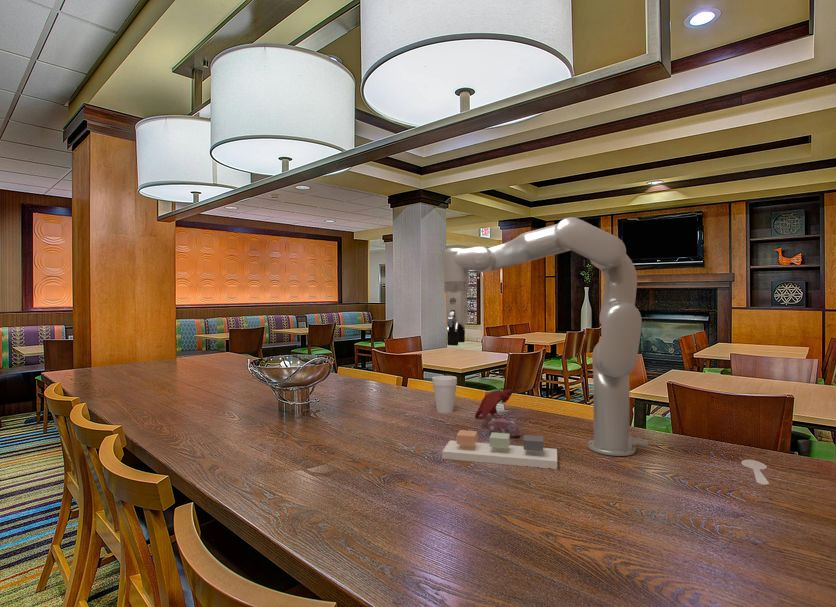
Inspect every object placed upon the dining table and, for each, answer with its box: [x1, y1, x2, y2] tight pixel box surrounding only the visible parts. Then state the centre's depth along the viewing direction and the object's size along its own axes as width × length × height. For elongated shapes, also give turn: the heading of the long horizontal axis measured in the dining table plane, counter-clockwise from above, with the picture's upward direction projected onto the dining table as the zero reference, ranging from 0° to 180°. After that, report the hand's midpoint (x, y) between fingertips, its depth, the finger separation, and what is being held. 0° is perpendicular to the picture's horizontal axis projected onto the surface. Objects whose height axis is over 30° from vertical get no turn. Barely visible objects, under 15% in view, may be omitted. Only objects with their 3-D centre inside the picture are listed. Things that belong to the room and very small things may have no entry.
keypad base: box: [441, 439, 558, 470], centre depth 126 cm, size 30×10×2 cm, turn 74°
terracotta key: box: [456, 429, 479, 446], centre depth 129 cm, size 5×5×2 cm
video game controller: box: [486, 417, 521, 438], centre depth 146 cm, size 10×5×7 cm, turn 62°
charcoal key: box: [523, 434, 545, 451], centre depth 124 cm, size 5×5×2 cm
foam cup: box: [432, 375, 458, 414], centre depth 178 cm, size 10×9×13 cm
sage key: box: [488, 432, 511, 448], centre depth 126 cm, size 5×5×2 cm
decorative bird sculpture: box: [474, 389, 514, 421], centre depth 166 cm, size 28×9×15 cm
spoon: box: [740, 458, 770, 486], centre depth 115 cm, size 5×18×1 cm, turn 152°
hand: (456, 343), depth 143 cm, fingers open, 9 cm apart
